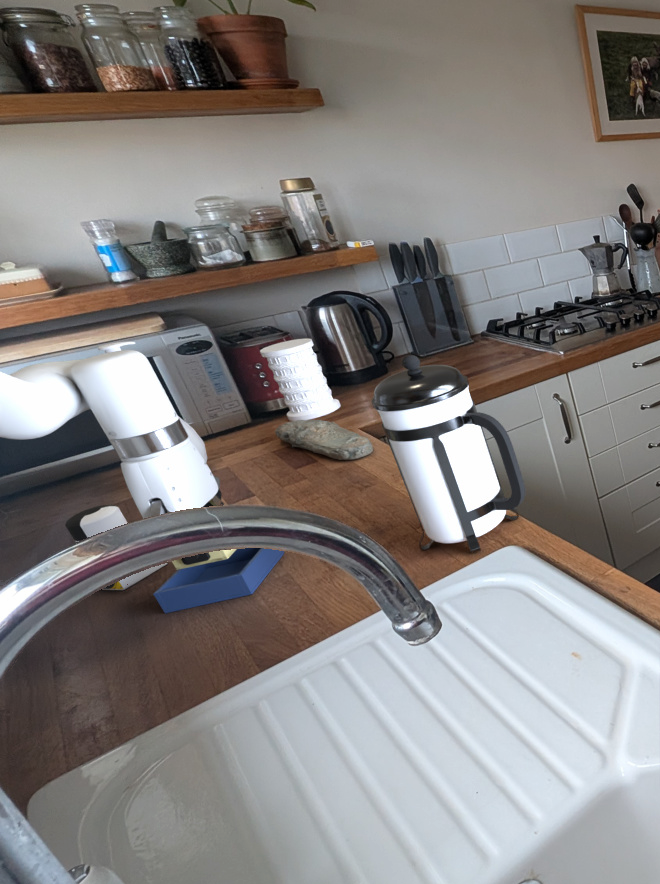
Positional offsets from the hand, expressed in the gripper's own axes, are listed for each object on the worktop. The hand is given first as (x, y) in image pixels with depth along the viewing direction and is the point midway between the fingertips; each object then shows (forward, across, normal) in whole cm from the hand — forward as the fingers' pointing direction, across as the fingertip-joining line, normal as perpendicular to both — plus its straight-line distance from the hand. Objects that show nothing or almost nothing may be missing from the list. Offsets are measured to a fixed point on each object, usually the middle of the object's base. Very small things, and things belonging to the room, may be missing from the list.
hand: (211, 547), depth 100 cm
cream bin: (+1, 0, 0) cm, 1 cm away
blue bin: (+6, 0, 0) cm, 6 cm away
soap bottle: (+6, -52, -32) cm, 61 cm away
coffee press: (+7, +2, +36) cm, 37 cm away
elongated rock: (+6, -55, -5) cm, 56 cm away
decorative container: (+6, -83, -17) cm, 85 cm away
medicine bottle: (+6, -9, -18) cm, 21 cm away
